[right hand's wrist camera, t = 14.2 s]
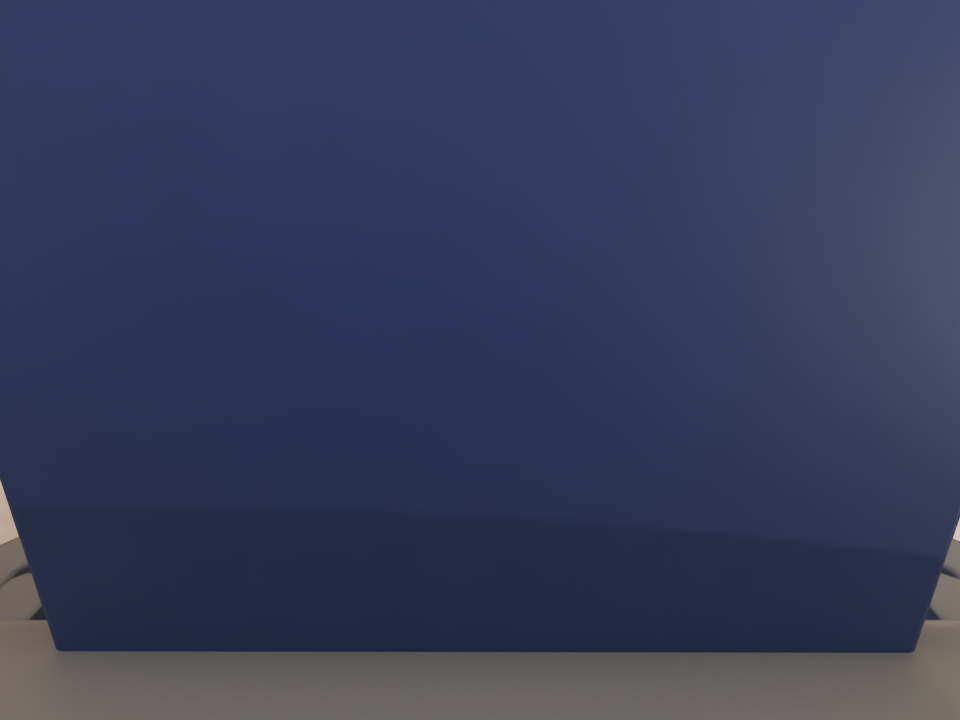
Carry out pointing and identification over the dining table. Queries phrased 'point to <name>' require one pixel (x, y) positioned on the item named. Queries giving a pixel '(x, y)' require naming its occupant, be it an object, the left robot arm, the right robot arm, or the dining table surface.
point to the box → (481, 322)
